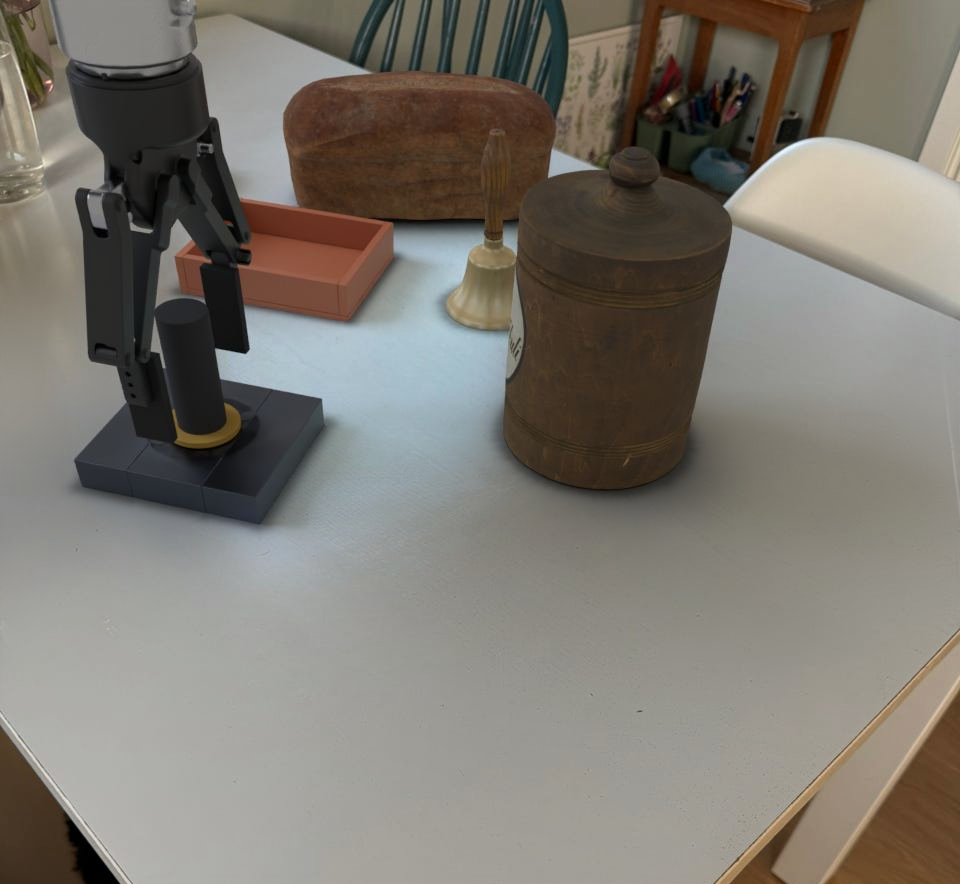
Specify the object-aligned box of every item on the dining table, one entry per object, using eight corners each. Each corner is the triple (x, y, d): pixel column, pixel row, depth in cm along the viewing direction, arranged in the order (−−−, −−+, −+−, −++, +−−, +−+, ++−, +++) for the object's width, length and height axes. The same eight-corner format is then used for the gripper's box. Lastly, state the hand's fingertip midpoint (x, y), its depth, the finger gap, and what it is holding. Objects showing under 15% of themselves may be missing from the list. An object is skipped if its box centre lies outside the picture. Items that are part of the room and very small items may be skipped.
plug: (158, 469, 74) (123, 323, 65) (191, 427, 78) (162, 285, 69) (227, 483, 73) (201, 338, 64) (257, 441, 77) (236, 298, 68)
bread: (555, 231, 105) (568, 108, 96) (288, 231, 102) (275, 104, 93) (537, 178, 114) (547, 61, 105) (292, 176, 111) (281, 55, 102)
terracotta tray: (181, 292, 92) (173, 255, 90) (240, 231, 101) (236, 196, 99) (347, 322, 90) (345, 285, 87) (394, 257, 99) (393, 222, 96)
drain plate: (82, 487, 72) (73, 459, 70) (164, 393, 81) (158, 366, 79) (259, 525, 70) (255, 497, 68) (324, 424, 79) (322, 398, 77)
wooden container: (563, 365, 87) (596, 95, 71) (715, 427, 81) (788, 149, 65) (465, 442, 78) (477, 155, 62) (627, 517, 73) (686, 223, 57)
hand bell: (516, 339, 89) (531, 157, 78) (432, 319, 91) (434, 138, 79) (544, 298, 95) (562, 122, 83) (464, 280, 96) (470, 105, 85)
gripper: (82, 141, 47) (168, 498, 63) (276, 7, 63) (305, 320, 79) (-57, 119, 48) (62, 476, 64) (168, -7, 64) (218, 304, 80)
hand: (196, 390), depth 71 cm, fingers open, 11 cm apart
